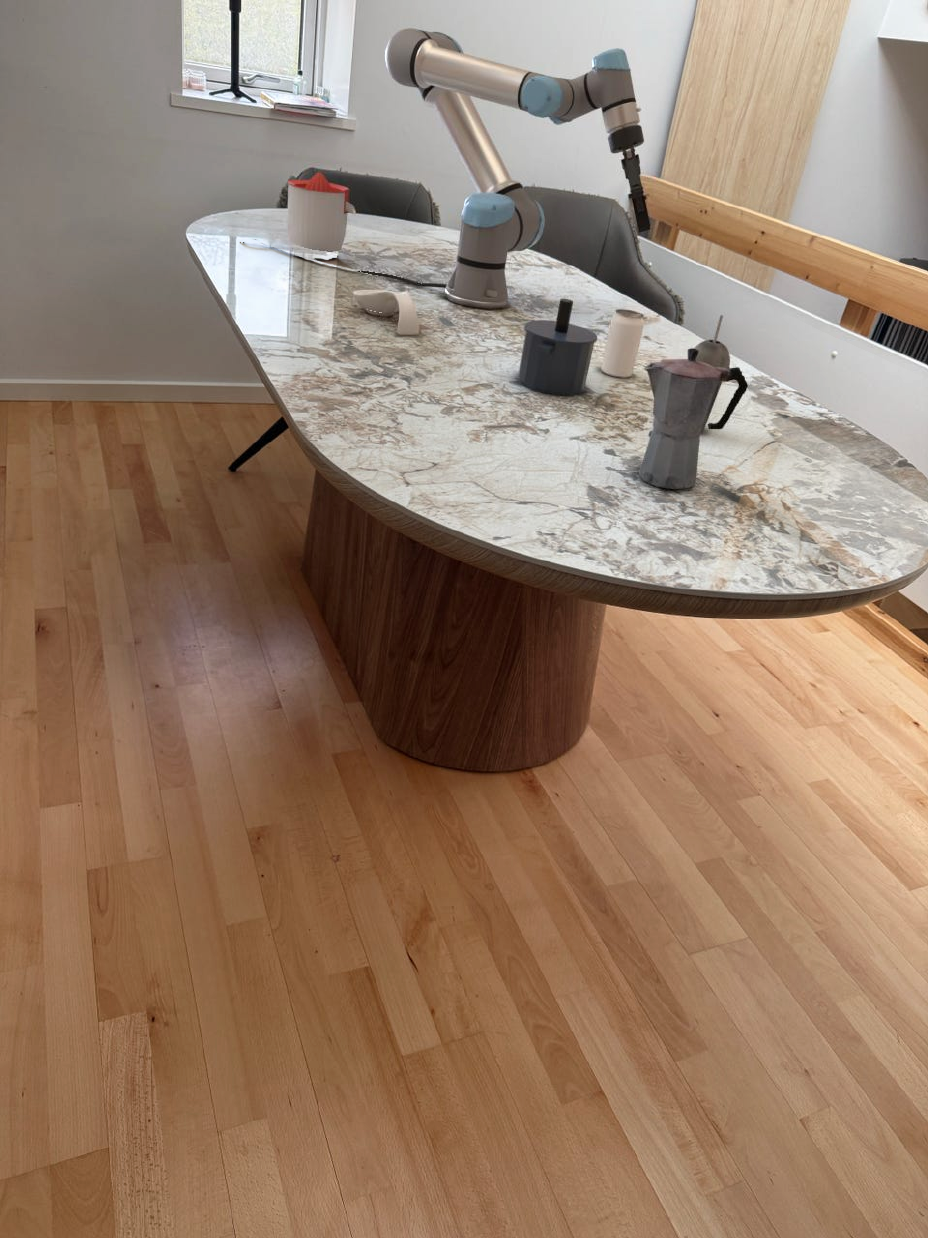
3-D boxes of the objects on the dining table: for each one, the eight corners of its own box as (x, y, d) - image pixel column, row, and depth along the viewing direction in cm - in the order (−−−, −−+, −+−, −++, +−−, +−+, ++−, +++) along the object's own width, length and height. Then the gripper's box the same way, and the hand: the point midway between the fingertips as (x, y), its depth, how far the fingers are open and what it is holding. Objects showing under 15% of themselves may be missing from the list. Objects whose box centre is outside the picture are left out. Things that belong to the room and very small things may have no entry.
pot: (503, 386, 170) (511, 334, 165) (535, 365, 185) (544, 317, 180) (567, 404, 167) (578, 351, 162) (595, 381, 181) (606, 332, 176)
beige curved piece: (344, 303, 205) (346, 270, 201) (393, 305, 210) (397, 272, 206) (383, 336, 187) (386, 299, 184) (435, 336, 192) (440, 301, 189)
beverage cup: (713, 427, 167) (745, 314, 157) (708, 439, 161) (742, 323, 151) (673, 417, 169) (703, 305, 158) (667, 429, 163) (698, 313, 152)
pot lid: (512, 335, 168) (518, 297, 164) (537, 321, 179) (544, 286, 175) (583, 353, 164) (591, 315, 160) (604, 338, 175) (612, 302, 171)
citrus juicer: (348, 267, 236) (354, 181, 226) (279, 257, 235) (282, 170, 225) (355, 255, 250) (361, 174, 239) (290, 245, 248) (293, 163, 238)
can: (631, 380, 185) (645, 319, 179) (599, 374, 186) (612, 313, 180) (632, 371, 191) (646, 312, 184) (601, 365, 191) (614, 306, 185)
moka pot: (613, 461, 146) (643, 334, 135) (706, 471, 148) (743, 346, 137) (627, 487, 137) (660, 353, 127) (725, 496, 140) (766, 366, 129)
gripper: (640, 114, 192) (661, 221, 198) (641, 131, 215) (660, 227, 221) (604, 126, 194) (626, 231, 200) (609, 142, 217) (629, 236, 223)
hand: (644, 229), depth 210 cm, fingers open, 13 cm apart
